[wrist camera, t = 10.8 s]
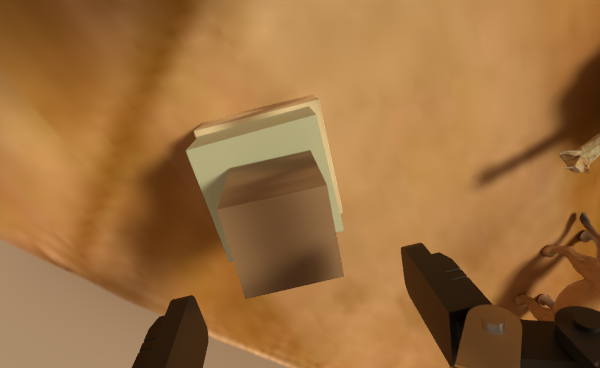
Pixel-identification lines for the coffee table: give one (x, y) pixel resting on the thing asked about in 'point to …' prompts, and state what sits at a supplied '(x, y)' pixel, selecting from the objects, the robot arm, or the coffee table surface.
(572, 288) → the lion figurine
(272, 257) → the walnut block
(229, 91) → the coffee table surface
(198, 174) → the tower top
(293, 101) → the block
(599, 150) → the pine cone
